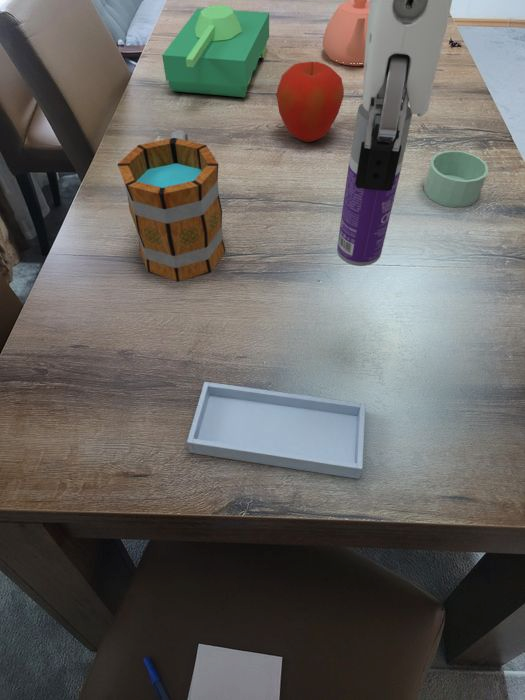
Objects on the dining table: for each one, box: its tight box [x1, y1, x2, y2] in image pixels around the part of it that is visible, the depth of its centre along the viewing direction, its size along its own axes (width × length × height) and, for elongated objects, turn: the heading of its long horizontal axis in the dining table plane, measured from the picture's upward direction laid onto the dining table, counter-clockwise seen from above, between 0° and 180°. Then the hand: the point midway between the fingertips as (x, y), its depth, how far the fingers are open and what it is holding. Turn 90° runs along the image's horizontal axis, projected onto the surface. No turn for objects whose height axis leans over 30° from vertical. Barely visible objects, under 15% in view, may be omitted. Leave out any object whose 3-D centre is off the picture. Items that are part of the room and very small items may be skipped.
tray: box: [186, 381, 366, 480], centre depth 56 cm, size 19×8×3 cm, turn 80°
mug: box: [117, 129, 227, 282], centre depth 73 cm, size 20×14×15 cm
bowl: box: [423, 149, 490, 208], centre depth 85 cm, size 9×9×5 cm
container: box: [336, 98, 413, 267], centre depth 46 cm, size 5×5×15 cm
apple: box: [275, 61, 345, 143], centre depth 92 cm, size 12×12×14 cm
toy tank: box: [161, 4, 270, 98], centre depth 109 cm, size 18×12×35 cm
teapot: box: [322, 0, 370, 67], centre depth 116 cm, size 22×16×12 cm
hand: (375, 168), depth 45 cm, fingers closed on container, 4 cm apart
